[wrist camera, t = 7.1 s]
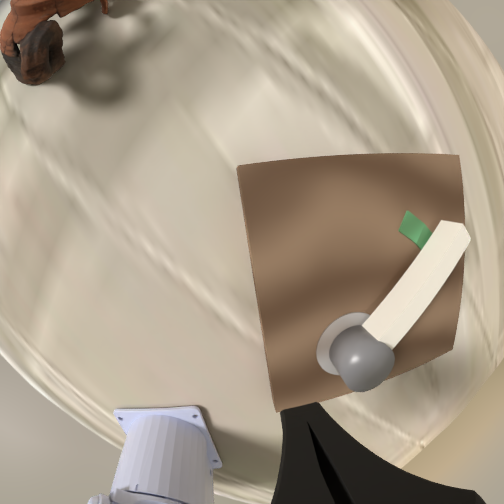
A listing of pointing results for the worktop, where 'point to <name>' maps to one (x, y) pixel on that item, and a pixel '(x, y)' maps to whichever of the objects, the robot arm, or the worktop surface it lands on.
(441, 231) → the peg lever
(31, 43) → the pottery mug
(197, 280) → the worktop surface
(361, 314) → the brown flat square board
